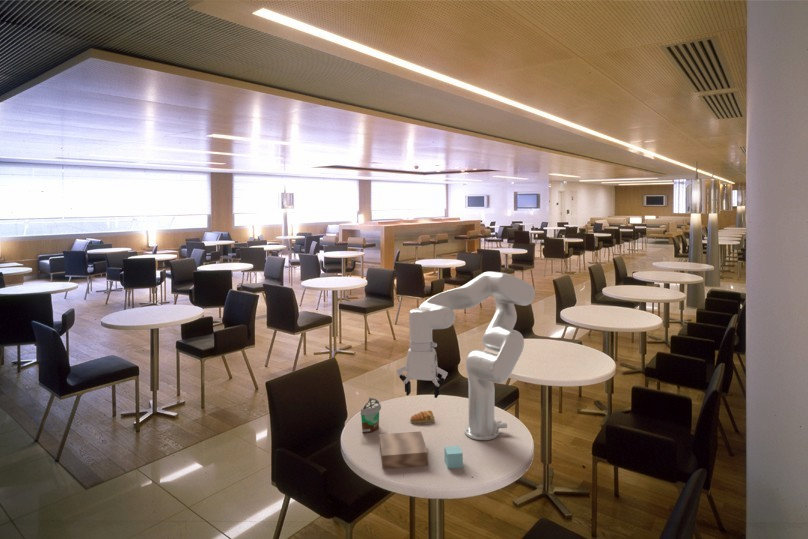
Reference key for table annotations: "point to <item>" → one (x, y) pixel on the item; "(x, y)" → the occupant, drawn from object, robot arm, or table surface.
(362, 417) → the food container
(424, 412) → the pastry
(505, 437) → the table surface
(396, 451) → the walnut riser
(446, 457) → the teal cube
